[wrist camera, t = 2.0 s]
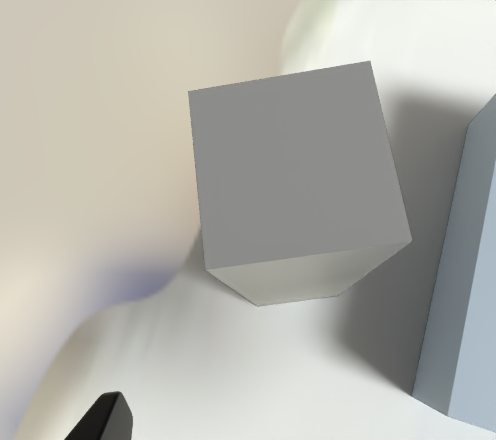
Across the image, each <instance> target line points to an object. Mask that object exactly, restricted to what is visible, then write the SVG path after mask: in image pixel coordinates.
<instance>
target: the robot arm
mask: <svg viewBox="0 0 496 440" xmlns="http://www.w3.org/2000/svg"><path fill="white" fill-rule="evenodd" d="M132 427H133V416H132V413H131V410H130V408H129V406H128V404H127V402H126V400H125V398H124V396H123V394H122V393H121V392H119V391H116V392H108V393H104V394H102V395H101V396H100V397H99V398H98V399H97V400H96V401H95V403H94V404H93V405H92V406H91V408H90V409H89V410H88V411H87V412H86V414H85V415H84V416H83V417H82V419H81V420H80V421H79V422H78V423H77V425H76V426H75V427H74V428H73V430H72V431H71V432H70V433H69V434H68V436H67V437H66V438H65V439H64V440H131V437H132Z"/></svg>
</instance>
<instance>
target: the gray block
mask: <svg viewBox="0 0 496 440" xmlns="http://www.w3.org/2000/svg"><path fill="white" fill-rule="evenodd" d="M188 95H189V106H190V116H191V126H192V136H193V146H194V157H195V168H196V178H197V189H198V199H199V210H200V220H201V231H202V241H203V251H204V262H205V270H206V271H207V272H209V273H210V274H212V275H213V276H214V277H216V278H217V279H219V280H220V281H222V282H223V283H225V284H226V285H227V286H229V287H230V288H232V289H233V290H235V291H236V292H237V293H239V294H240V295H242V296H243V297H245V298H246V299H247V300H249V301H250V302H252V303H253V304H255V305H256V306H265V305H272V304H280V303H287V302H295V301H303V300H310V299H318V298H325V297H333V296H339V295H340V294H341V293H343V292H344V291H345V290H347V289H348V288H349V287H351V286H352V285H354V284H355V283H356V282H358V281H359V280H360V279H362V278H363V277H364V276H366V275H367V274H369V273H370V272H371V271H373V270H374V269H375V268H377V267H378V266H380V265H381V264H382V263H384V262H385V261H386V260H388V259H389V258H390V257H392V256H393V255H395V254H396V253H397V252H399V251H400V250H401V249H403V248H404V247H405V246H407V245H408V244H410V243H411V242H412V236H411V232H410V228H409V224H408V219H407V215H406V211H405V207H404V202H403V198H402V194H401V190H400V185H399V181H398V177H397V173H396V168H395V164H394V160H393V156H392V151H391V147H390V143H389V139H388V134H387V130H386V126H385V122H384V117H383V113H382V109H381V104H380V100H379V96H378V92H377V87H376V83H375V79H374V75H373V70H372V66H371V62H370V61H366V62H360V63H354V64H348V65H342V66H336V67H330V68H324V69H318V70H312V71H306V72H300V73H294V74H288V75H282V76H276V77H270V78H265V79H259V80H253V81H247V82H241V83H235V84H229V85H223V86H217V87H211V88H205V89H199V90H194V91H188Z"/></svg>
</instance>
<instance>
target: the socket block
mask: <svg viewBox="0 0 496 440" xmlns="http://www.w3.org/2000/svg"><path fill="white" fill-rule="evenodd" d="M412 397H413V398H415V399H417V400H419V401H421V402H422V403H424V404H426V405H428V406H430V407H431V408H433V409H435V410H437V411H439V412H440V413H442V414H444V415H446V416H448V417H451V418H454V419H457V420H460V421H463V422H466V423H469V424H472V425H475V426H478V427H481V428H484V429H487V430H490V431H493V432H495V433H496V94H495V95H494V96H493V97H492V99H491V100H490V101H489V102H488V103H487V104H486V105H485V107H484V108H483V109H482V110H481V111H480V112H479V114H478V115H477V116H476V117H475V118H474V119H473V121H472V122H471V123H470V124H469V125H468V129H467V134H466V139H465V143H464V148H463V153H462V158H461V163H460V167H459V172H458V177H457V182H456V187H455V191H454V196H453V201H452V206H451V210H450V215H449V220H448V225H447V230H446V234H445V239H444V244H443V249H442V254H441V258H440V263H439V268H438V273H437V278H436V282H435V287H434V292H433V297H432V302H431V306H430V311H429V316H428V321H427V326H426V330H425V335H424V340H423V345H422V350H421V354H420V359H419V364H418V369H417V373H416V378H415V383H414V388H413V393H412Z"/></svg>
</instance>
